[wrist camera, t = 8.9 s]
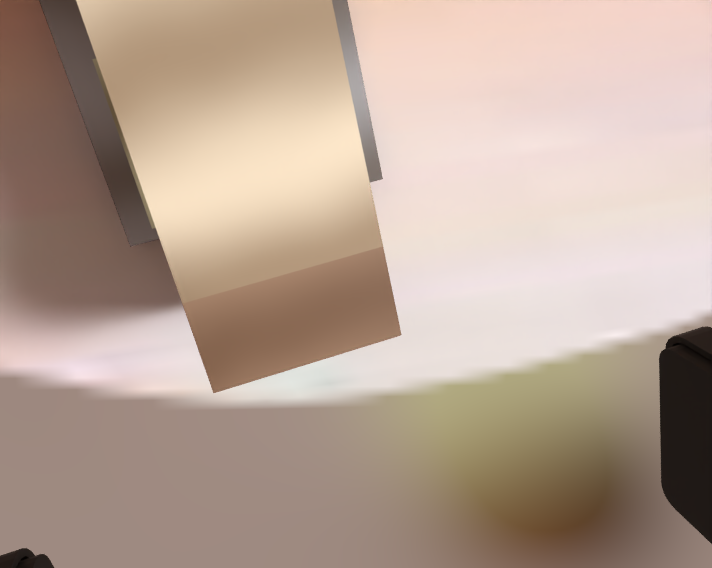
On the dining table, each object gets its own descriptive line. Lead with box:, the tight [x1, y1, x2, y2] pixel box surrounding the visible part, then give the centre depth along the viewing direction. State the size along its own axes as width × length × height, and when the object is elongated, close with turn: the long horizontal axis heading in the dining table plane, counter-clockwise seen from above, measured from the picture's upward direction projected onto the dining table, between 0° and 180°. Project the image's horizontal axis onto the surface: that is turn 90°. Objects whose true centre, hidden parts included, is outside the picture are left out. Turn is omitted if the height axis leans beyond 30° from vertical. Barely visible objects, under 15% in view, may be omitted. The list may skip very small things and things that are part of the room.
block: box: [76, 0, 401, 393], centre depth 19 cm, size 16×6×6 cm, turn 12°
